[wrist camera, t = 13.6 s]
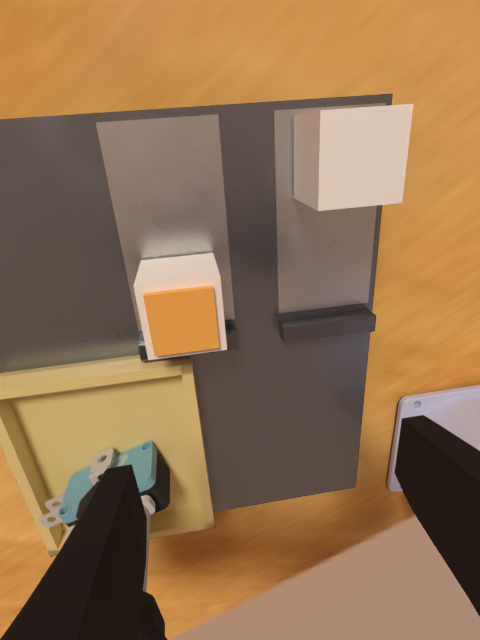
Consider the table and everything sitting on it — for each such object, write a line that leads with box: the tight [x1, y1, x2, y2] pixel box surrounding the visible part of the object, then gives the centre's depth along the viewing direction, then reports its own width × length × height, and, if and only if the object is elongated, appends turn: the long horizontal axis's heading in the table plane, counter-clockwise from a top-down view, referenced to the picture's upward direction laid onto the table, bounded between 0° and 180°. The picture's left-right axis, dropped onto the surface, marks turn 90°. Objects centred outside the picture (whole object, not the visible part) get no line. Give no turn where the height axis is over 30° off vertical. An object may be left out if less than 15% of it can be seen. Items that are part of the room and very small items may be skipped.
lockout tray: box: [0, 355, 215, 557], centre depth 20 cm, size 9×11×1 cm
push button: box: [39, 441, 170, 640], centre depth 16 cm, size 7×5×10 cm
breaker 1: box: [133, 253, 227, 360], centre depth 15 cm, size 3×3×3 cm
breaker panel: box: [0, 94, 393, 512], centre depth 19 cm, size 18×22×3 cm
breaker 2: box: [294, 104, 413, 211], centre depth 14 cm, size 3×3×3 cm
